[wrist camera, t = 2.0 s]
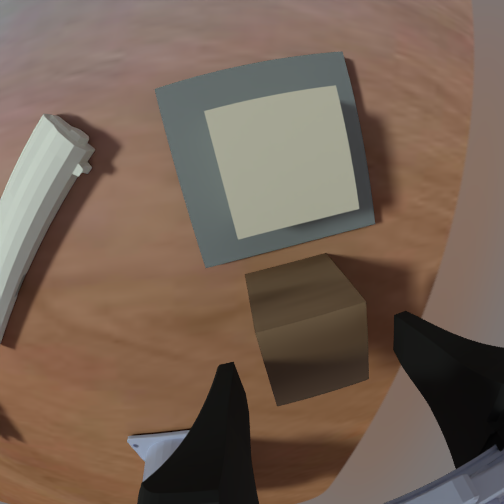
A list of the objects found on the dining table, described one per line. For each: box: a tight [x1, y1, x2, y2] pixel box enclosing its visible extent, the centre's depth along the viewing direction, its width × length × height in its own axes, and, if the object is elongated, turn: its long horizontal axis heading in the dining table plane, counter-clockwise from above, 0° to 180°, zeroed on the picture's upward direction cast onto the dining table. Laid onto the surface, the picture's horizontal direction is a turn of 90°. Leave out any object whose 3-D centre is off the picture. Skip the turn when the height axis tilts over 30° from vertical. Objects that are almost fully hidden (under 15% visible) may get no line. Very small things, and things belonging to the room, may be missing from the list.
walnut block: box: [245, 253, 369, 406], centre depth 15 cm, size 4×4×6 cm
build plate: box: [155, 52, 375, 268], centre depth 13 cm, size 9×9×4 cm
